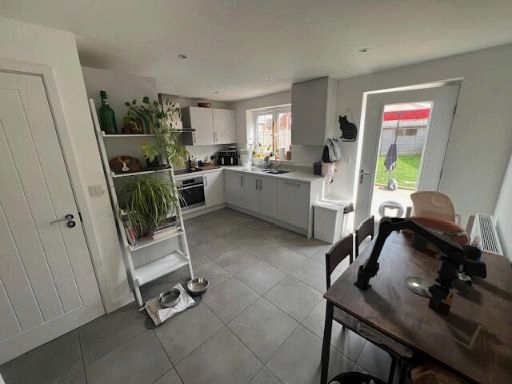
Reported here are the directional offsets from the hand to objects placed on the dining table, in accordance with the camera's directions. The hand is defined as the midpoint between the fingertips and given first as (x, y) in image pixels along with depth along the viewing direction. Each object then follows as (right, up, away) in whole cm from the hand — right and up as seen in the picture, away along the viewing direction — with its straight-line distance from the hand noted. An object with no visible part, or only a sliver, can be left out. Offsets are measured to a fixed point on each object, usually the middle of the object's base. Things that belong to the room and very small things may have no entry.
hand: (440, 300), depth 91 cm
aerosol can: (+34, +2, +23) cm, 41 cm away
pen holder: (+31, +9, +51) cm, 60 cm away
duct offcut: (+22, -1, +13) cm, 26 cm away
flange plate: (+3, -1, +14) cm, 15 cm away
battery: (0, -5, +1) cm, 5 cm away
